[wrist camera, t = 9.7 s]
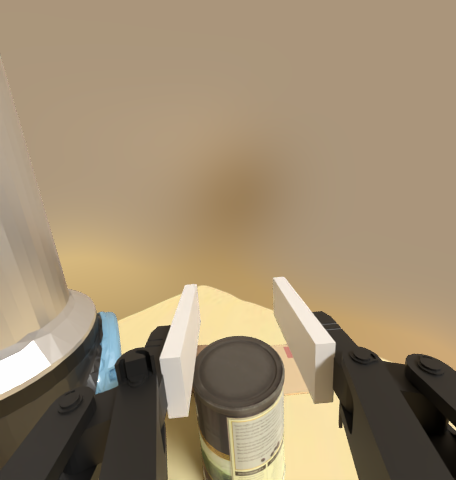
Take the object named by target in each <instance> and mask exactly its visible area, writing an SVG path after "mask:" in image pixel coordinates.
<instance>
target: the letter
mask: <svg viewBox="0 0 456 480" xmlns="http://www.w3.org/2000/svg"><path fill="white" fill-rule="evenodd" d="M271 347H272V348H273V349H274V350H275V351H276V352H277V353H278V354H279V356H280V357H281V359H282V361H283V364H284V369H285V379H284V384H283V389H284V395H294V394H305V393H309V391H308V389H307V386H306V384H305V382H304V380H303V378H302V375H301V373H300V371H299V369H298V367H297V364H296V362H295V360H294V358H293V356H292V353H291V351H290V349H289V347H288V345H287V344H284V345H273V346H271Z"/></svg>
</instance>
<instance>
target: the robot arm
mask: <svg viewBox="0 0 456 480" xmlns="http://www.w3.org/2000/svg"><path fill="white" fill-rule="evenodd" d="M273 299H274V316H275V318H276V321H277V323H278V325H279V327H280V329H281V332H282V334H283V336H284V338H285V340H286V342H287V345H288V347H289V349H290V351H291V353H292V356H293V358H294V360H295V362H296V364H297V367H298V369H299V371H300V373H301V375H302V378H303V380H304V382H305V384H306V386H307V389H308V391H309V393H310V395H311V397H312V399H313V402H314V404H319V403H329V402H333V393H334V391H335V393H336V395H337V396H338V398H339V400H340V405H339V428H342V422H343V425H344V428H345V432H346V436H347V439H348V443H349V446H350V450H351V453H352V457H353V460H354V464H355V468H356V471H357V475H358V478H359V480H456V431H455V430H454V429H453V428H452V427H451V426H450V425H449V424H448V423H449V421H450V422H451V423H452V424H453V425H454V426H455V427H456V371H454V370H453V369H452V368H451V367H449V366H448V365H446V364H445V363H443V362H442V361H440V360H438V359H435V358H433V357H430V356H427V355H422V354H412V355H408V356H407V358H406V361H405V364H398V363H391V362H385V361H382V360H381V359H380V358H379V357H378V355H377V354H375V353H374V352H372V351H370V350H368V349H366V348H363V347H358V346H357V345H356V344H355V343H354V342H353V341H352V339H351V338H350V337H349V336H348V335H347V334H346V333H345V332H344V331H343V330H342V329H341V328H340V326H339V325H338V324H336V322H335V321H334V320H333V319H332V318H331V316H329V315H327V314H325V313H324V312H322V311H320V312H311V310H310V309H309V308H308V307H307V305H306V304H305V303H304V302H303V300H302V299H301V298H300V296H299V295H298V294H297V293H296V291H295V290H294V289H293V287H292V286H291V285H290V284H289V282H288V281H287V280H286V279H285V277H276V278H273ZM200 322H201V320H200V311H199V301H198V292H197V284H192V285H185V287H184V290H183V292H182V295H181V298H180V301H179V304H178V307H177V310H176V313H175V315H174V318H173V321H172V324H171V325H169V326H158V327H157V328H156V329H155V330H154V331H153V332H152V333H151V334H150V336H149V338H148V342H147V343H146V345H145V348H144V347H142V348H135V349H133V350H130V351H128V352H126V353H125V354H123V355H122V356H121V345H120V336H119V328H118V322H117V318H116V315H115V314H114V313H113V312H106V313H105V312H99V313H97V312H96V308H95V305H94V303H93V301H92V300H91V298H90V297H88V296H87V295H86V294H83V293H81V292H78V291H75V290H71V289H68V288H67V285H66V281H65V278H64V274H63V271H62V267H61V264H60V260H59V257H58V253H57V250H56V246H55V243H54V240H53V236H52V232H51V229H50V226H49V222H48V219H47V215H46V212H45V208H44V205H43V201H42V198H41V194H40V191H39V187H38V184H37V180H36V177H35V173H34V170H33V166H32V163H31V159H30V156H29V153H28V149H27V146H26V142H25V139H24V135H23V132H22V128H21V125H20V121H19V118H18V114H17V111H16V108H15V104H14V100H13V97H12V93H11V90H10V86H9V83H8V80H7V76H6V72H5V69H4V66H3V62H2V59H1V55H0V480H168V476H167V447H166V427H165V421H164V420H165V415H166V411H167V410H168V417H169V418H179V417H188V414H189V406H190V399H191V391H192V384H193V376H194V368H195V361H196V353H197V345H198V338H199V330H200Z"/></svg>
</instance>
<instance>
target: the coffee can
mask: <svg viewBox="0 0 456 480" xmlns="http://www.w3.org/2000/svg"><path fill="white" fill-rule="evenodd" d="M284 379H285V369H284V364H283V361H282V359H281V357H280V356H279V354H278V353H277V352H276V351H275V350H274V349H273V348H272V347H271V346H270V345H268V344H267V343H265V342H263V341H261V340H259V339H256V338H252V337H246V336H233V337H226V338H223V339H220V340H217V341H215V342H213V343H211V344H210V345H208V346H207V347H205V348H204V349H203V350H202V351H201V352H200V353H199V354H198V356H197V357H196V361H195V368H194V376H193V384H192V386H193V389H194V396H195V403H196V412H197V420H198V427H199V434H200V442H201V451H202V459H203V473H204V479H205V480H284V478H285V460H284V389H283V384H284Z"/></svg>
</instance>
